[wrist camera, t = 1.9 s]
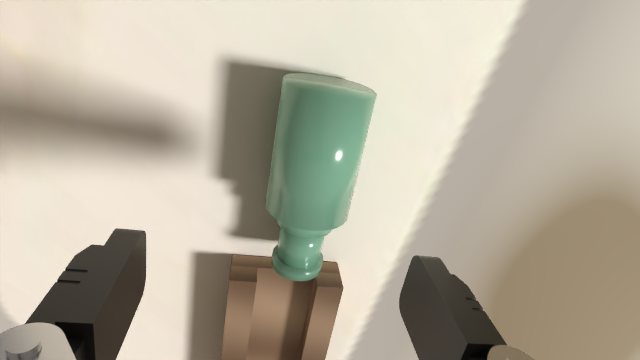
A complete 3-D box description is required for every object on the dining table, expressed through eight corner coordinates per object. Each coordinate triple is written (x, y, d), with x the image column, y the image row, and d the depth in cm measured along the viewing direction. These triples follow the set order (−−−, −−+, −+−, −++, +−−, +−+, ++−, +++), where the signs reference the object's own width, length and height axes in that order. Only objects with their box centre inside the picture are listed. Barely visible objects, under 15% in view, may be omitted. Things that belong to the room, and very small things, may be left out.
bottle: (262, 75, 17) (343, 103, 15) (320, 71, 20) (392, 94, 18) (241, 261, 20) (302, 303, 19) (291, 233, 24) (348, 267, 22)
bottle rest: (232, 254, 23) (229, 280, 21) (337, 262, 24) (343, 288, 22) (218, 388, 27) (214, 419, 25) (306, 389, 28) (309, 420, 26)
